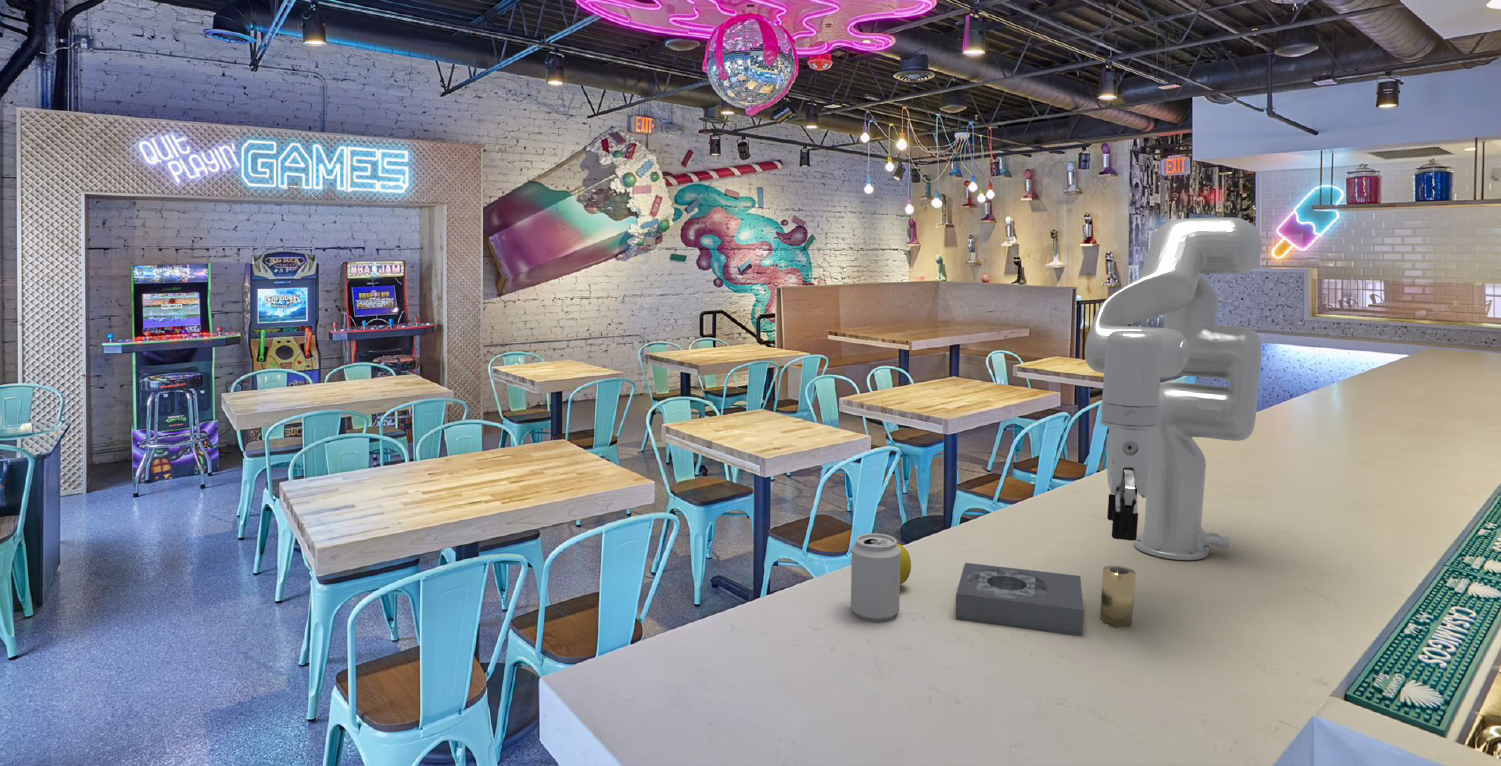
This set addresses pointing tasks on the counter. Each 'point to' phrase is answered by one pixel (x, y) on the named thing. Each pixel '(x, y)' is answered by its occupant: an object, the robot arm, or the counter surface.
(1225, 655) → the counter surface
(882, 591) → the can
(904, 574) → the lemon
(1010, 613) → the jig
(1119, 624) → the cylinder
